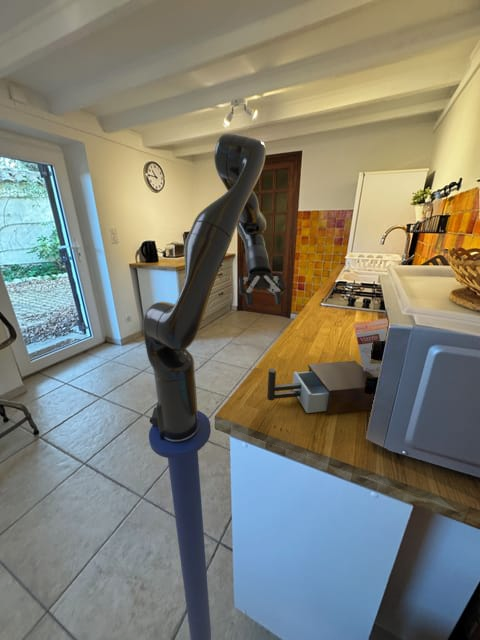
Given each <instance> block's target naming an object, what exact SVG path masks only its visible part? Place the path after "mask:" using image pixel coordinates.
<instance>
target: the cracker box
mask: <svg viewBox="0 0 480 640" xmlns="http://www.w3.org/2000/svg"><path fill="white" fill-rule="evenodd" d="M387 318H388V317H385V318H380V319H374V320H369V321H361V322H357V323H353V328H354V333H355V337H356V342H357V346H358V352H359V357H360V361H361V366H362V367H363V370H364V371H368V372H369V373H370V374H372V375H373V376H374V377H378V374H379V370H380V366H381V361H377V360H373V359H371V350H372V344H373V341H374V340H380V341H384V340H385V338H386V333H387V326H388V320H387Z"/></svg>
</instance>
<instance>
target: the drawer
mask: <svg viewBox="0 0 480 640" xmlns="http://www.w3.org/2000/svg"><path fill="white" fill-rule="evenodd" d="M267 373H268V374H267V375H268V376H267V394H266V395H267V396H266V398H267V400H268V401H272V402H273V401H274V400H276V399H286V398H296V397H297V399H298V401H299V403H300V404H301V406H302V408H303V410H304V411H305V413H306V414H309V413H312V414H313V413H320V412H326V410H327V403H328V396H329V392H328V391H327V390H326V389H325V387H324V386H323V385H322V384H321V382H320V381H319V380H318V379H317V377H316V376H315V375H314V374H313V372H312V371H310V372H309V371H299V372H297V371H293V375H292V383H283V384H276V379H277V377H276V376H277V370H276V369H275V368H269V369H268V371H267Z"/></svg>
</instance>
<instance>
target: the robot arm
mask: <svg viewBox="0 0 480 640" xmlns="http://www.w3.org/2000/svg"><path fill="white" fill-rule="evenodd" d="M213 156H214V158H213V159H214V160H213V161H214V166H215V170H216V173H217V176H218V177H219V178H220V180H221V182H222V184H223V185H224V188H225V189H226V192H225V193H224V194H223V195H222V196H220V197H219V198H217V199H216V200H214V201H213V202H211V203H210V204H209V205H207V206H206V207H205V208H204V209H202V210H201V211H200V212H199V213H198V214H197V215H196V217H195V219H194V221H193V223H192V225H191V228H190V230H189V233H188V235H187V237H186V239H185V242H184V252H183V253H184V254H183V255H184V257H183V258H184V281H183V285H182V286H181V287H182V288H181V290H180V292H179V294H178V296H177V299H176V301H175V303H171V302H168V301H158V302H155V303H153V304H151V305H150V306H149V307H148V308H147V309H146V312H145V313H144V316H143V319H142V332H143V340H144V343H145V350H146V355H147V359H148V362H149V364H150V366H151V368H152V370H153V376H154V384H155V391H156V393H155V394H156V399H157V401H156V406H155V407H154V408H153V410H152V415H151V417H150V418H149V423H150V424H151V426H152V425H153V427H159V433H160V440H166V441H168V442H172V443H180V442H184V441H187V440H189V439H191V438H192V437H193V436H195V434H196V433H197V431H198V429H199V422H198V411H199V410H198V398H197V386H196V385H197V384H196V371H195V370H196V369H195V368H196V367H195V360H194V357H193V356H192V354H191V353H190V352H189V350H187V349H188V348H189V347H190V346H191V345H192V344H193V343H194V341H195V340H196V338H197V336H198V334H199V332H200V329H201V326H202V323H203V320H204V316H205V312H206V310H207V305H208V302H209V298H210V295H211V292H212V289H213V287H214V284H215V282H216V279H217V277H218V274H219V272H220V268H221V267H222V263H223V261H224V260H225V257H226V255H227V253H228V250H229V247H230V245H231V242H232V240H233V237H234V234H235V231H236V230H237V233H238V234H239V237H240V238H241V239H242V242H243V245H244V252H245V265H246V270H247V271H246V272H247V276H244V275H242V274H240V275H239V278H238V289H239V295H240V296H244V297H245V300H246V305H247V306H249V308H252V307H253V297H252V293H253V292H254V290H256V291H260V290H263V291H266V290H268V291H269V293H272V294H273V295H274V301H275V306H276V307H279V306H280V304H281V303H282V296H281V295H283V294H284V292H285V290H286V286H285V281H284V277H283V275H282V274H281V273H280V274H278V275H273V274H272V269H271V265H270V259H269V254H268V251H267V248H266V242H265V239H264V238H265V237H264V236H263V233H264V232H265V231H266V230H267V219H266V218H265V215H264V214H263V213H262V211H261V210H260V205H259V198H258V196H257V195H256V192H255V191H254V189H255V187H256V185H257V183H258V182H259V179H260V177H261V174H262V171H263V169H264V166H265V162H266V157H267V151H266V146H265V143H264V142H262V141H261V140H260V139H257V138H254V137H249V136H245V135H240V134H235V133H223V134H221V135H220V136H219V137H218V140H217V142H216V145H215V149H214V155H213ZM273 281H274V282H273ZM246 282H247V283H248V284H249V286H248V288H247V289H245V285H246ZM276 284H277V285H276ZM197 410H198V411H197Z"/></svg>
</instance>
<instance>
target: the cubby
mask: <svg viewBox="0 0 480 640" xmlns="http://www.w3.org/2000/svg"><path fill="white" fill-rule="evenodd" d="M307 368H308V372H310V371H312V372H313V374H314V375H315V376H316V377H317V379H318V380H319V381H320V382H321V384H322V385H323V386H324V387H325V389H326V390H327V391H328V392H329V396H328V403H327V410H326V411H325V414H326V415H337V414H338V415H339V414H345V413H355V412H365V411H372V410H371V409H372V404H373V400H374V395H368V394H365V393H364V386H365V379H366V376H372V377H374V376H373V375H372V374H370V373H369V372H368V371H364V370H363V366H362V364H360V363H359V362H358V361H356V360H347V361H334V362H321V363H310V364H307Z"/></svg>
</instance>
